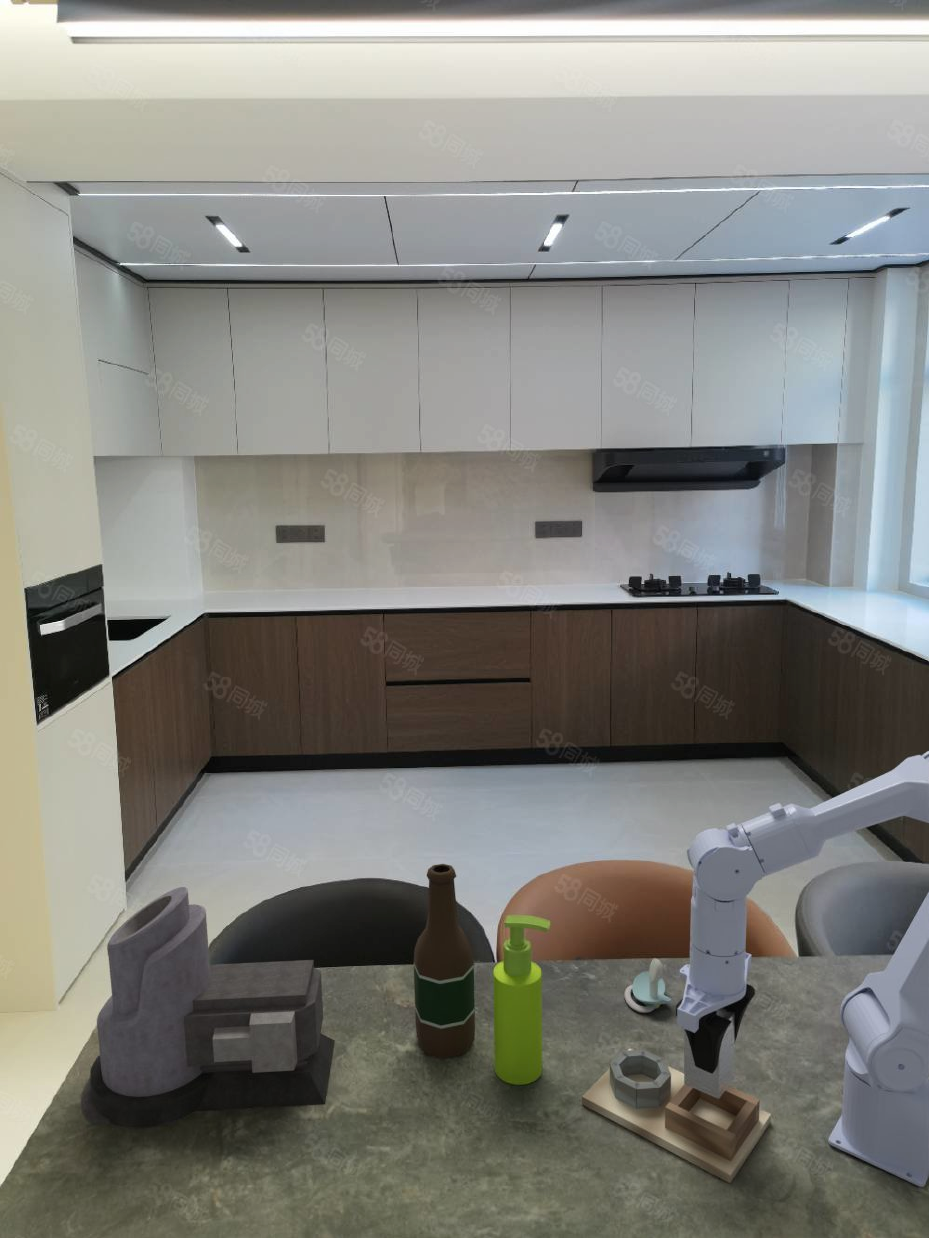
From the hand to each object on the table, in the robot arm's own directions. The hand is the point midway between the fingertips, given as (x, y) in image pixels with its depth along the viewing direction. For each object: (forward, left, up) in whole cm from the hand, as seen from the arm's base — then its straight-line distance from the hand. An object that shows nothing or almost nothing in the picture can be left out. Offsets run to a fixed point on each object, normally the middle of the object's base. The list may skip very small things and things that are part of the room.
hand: (714, 1057), depth 94 cm
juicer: (+52, +30, -10) cm, 61 cm away
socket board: (+4, 0, -9) cm, 10 cm away
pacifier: (+17, -17, -10) cm, 26 cm away
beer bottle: (+33, +7, -9) cm, 35 cm away
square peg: (0, 0, -3) cm, 3 cm away
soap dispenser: (+22, +5, -9) cm, 25 cm away
